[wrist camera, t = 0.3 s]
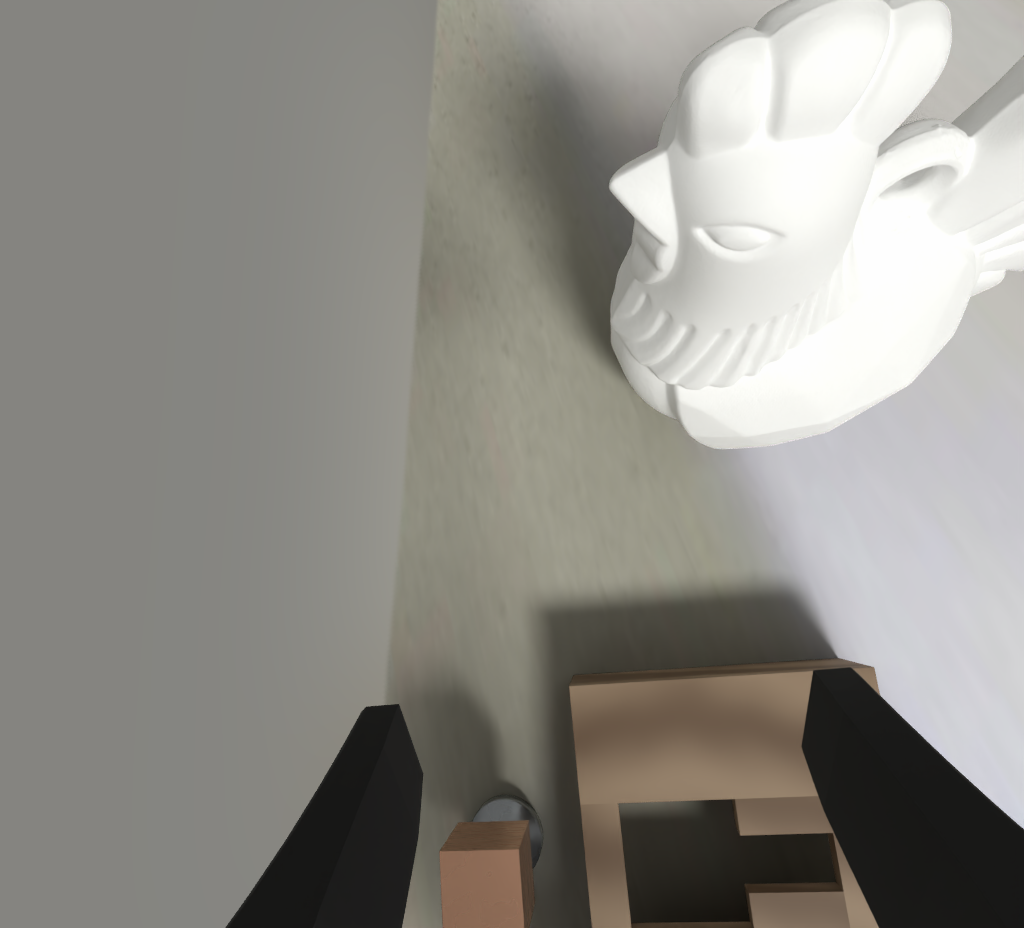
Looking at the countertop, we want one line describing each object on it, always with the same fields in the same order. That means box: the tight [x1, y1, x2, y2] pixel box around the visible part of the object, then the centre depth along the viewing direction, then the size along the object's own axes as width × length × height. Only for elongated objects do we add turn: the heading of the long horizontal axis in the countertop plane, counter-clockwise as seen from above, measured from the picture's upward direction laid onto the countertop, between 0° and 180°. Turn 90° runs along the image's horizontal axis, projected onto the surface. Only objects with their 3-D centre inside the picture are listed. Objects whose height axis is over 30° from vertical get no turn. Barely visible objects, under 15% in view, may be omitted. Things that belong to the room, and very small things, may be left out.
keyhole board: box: [569, 658, 880, 928], centre depth 33 cm, size 18×16×5 cm
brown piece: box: [439, 795, 543, 928], centre depth 33 cm, size 4×4×8 cm
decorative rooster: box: [609, 0, 1024, 449], centre depth 29 cm, size 25×16×25 cm, turn 88°
